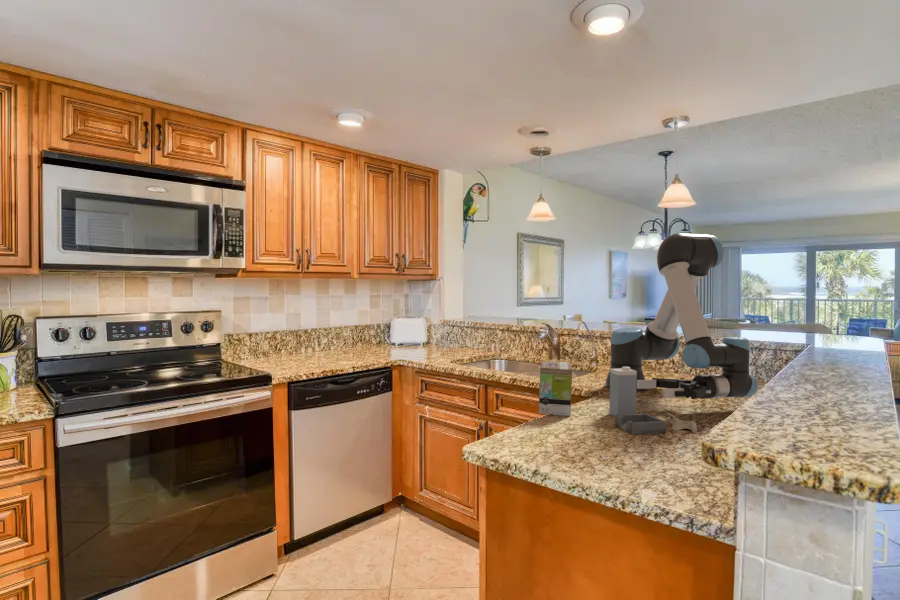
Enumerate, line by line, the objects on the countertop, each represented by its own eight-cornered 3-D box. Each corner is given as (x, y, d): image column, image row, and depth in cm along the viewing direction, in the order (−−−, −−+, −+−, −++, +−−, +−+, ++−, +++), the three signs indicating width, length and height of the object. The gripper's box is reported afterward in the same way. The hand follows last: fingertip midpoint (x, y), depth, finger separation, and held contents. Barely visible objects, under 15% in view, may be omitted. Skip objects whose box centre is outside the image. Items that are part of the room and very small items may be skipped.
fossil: (672, 433, 134) (673, 420, 134) (664, 422, 145) (664, 410, 145) (699, 435, 133) (700, 422, 132) (689, 423, 143) (690, 412, 143)
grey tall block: (609, 413, 153) (610, 366, 152) (626, 412, 154) (627, 365, 153) (617, 417, 148) (618, 368, 147) (635, 417, 149) (636, 368, 148)
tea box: (571, 416, 149) (572, 368, 148) (538, 414, 151) (539, 367, 150) (569, 405, 163) (570, 361, 163) (539, 403, 165) (540, 360, 165)
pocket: (614, 425, 140) (615, 414, 140) (646, 423, 142) (646, 413, 142) (632, 434, 131) (632, 423, 131) (665, 432, 133) (666, 421, 133)
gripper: (739, 407, 144) (676, 410, 140) (683, 389, 169) (627, 392, 164) (740, 382, 144) (676, 384, 140) (683, 368, 168) (628, 370, 164)
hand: (650, 388), depth 152 cm, fingers open, 13 cm apart
